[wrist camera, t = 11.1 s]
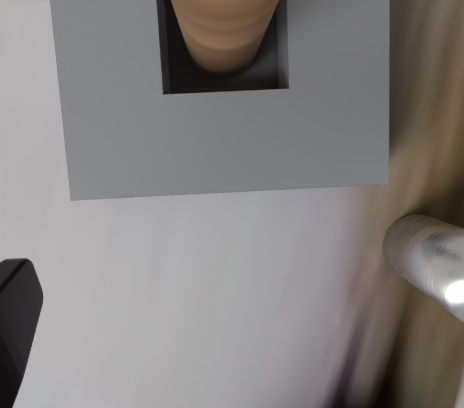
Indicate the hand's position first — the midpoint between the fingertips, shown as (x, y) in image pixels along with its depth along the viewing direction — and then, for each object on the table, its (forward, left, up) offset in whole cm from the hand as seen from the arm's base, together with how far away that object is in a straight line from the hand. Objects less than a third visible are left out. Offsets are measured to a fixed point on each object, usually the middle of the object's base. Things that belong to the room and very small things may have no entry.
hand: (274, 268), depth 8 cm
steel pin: (-3, -8, -13) cm, 16 cm away
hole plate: (+7, 0, -13) cm, 14 cm away
